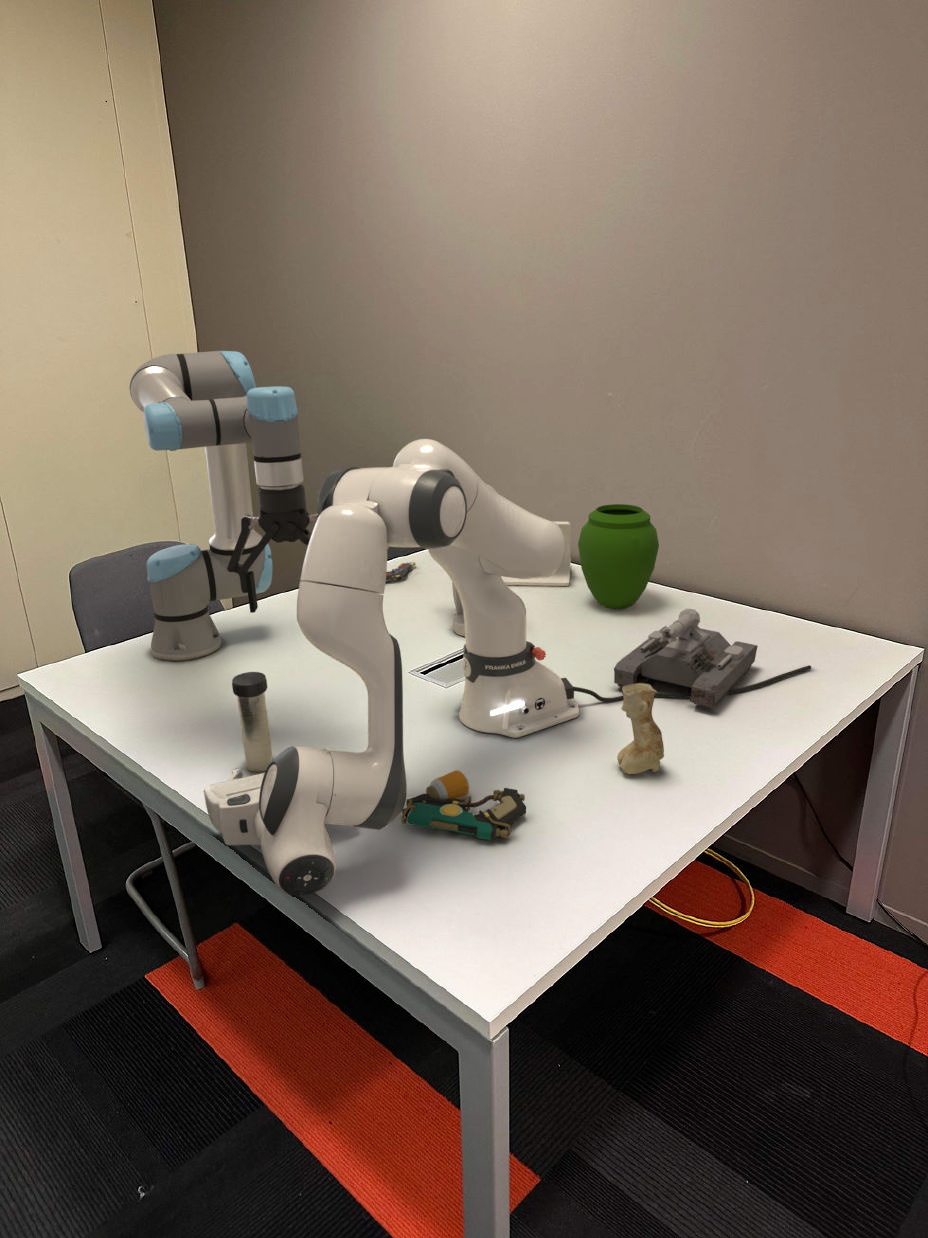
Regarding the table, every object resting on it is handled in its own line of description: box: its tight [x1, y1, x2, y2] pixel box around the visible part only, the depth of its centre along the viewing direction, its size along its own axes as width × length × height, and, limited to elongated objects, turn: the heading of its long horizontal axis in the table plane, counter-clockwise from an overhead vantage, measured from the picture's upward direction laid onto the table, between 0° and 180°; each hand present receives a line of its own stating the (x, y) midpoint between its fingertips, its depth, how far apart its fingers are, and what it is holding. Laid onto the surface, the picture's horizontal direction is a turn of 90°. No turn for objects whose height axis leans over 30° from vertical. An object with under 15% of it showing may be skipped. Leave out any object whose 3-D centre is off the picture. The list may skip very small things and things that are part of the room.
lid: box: [231, 671, 268, 697], centre depth 140 cm, size 6×6×2 cm
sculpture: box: [616, 683, 665, 775], centre depth 137 cm, size 6×7×15 cm
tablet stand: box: [501, 521, 572, 587], centre depth 236 cm, size 18×25×17 cm
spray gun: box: [401, 769, 527, 841], centre depth 128 cm, size 4×17×15 cm
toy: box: [613, 607, 758, 709], centre depth 170 cm, size 25×20×15 cm
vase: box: [577, 503, 660, 610], centre depth 210 cm, size 20×20×24 cm
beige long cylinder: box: [236, 691, 274, 773], centre depth 142 cm, size 4×4×16 cm
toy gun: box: [386, 561, 417, 581], centre depth 241 cm, size 3×19×10 cm
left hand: (293, 608), depth 146 cm, fingers open, 13 cm apart
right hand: (268, 766), depth 132 cm, fingers open, 8 cm apart
